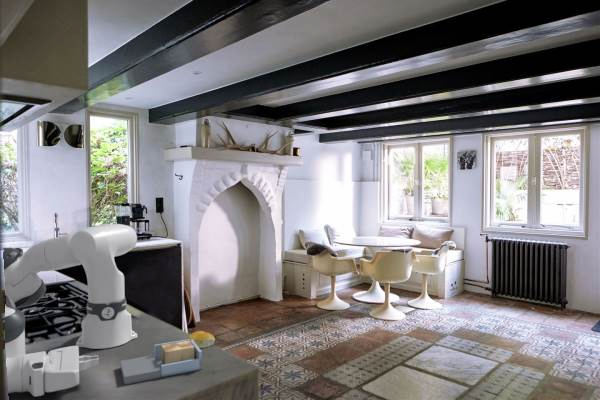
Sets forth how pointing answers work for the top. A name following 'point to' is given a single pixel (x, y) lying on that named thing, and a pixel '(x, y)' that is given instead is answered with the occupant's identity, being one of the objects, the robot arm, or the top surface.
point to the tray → (178, 366)
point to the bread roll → (202, 339)
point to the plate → (139, 369)
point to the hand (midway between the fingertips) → (98, 360)
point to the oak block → (177, 352)
